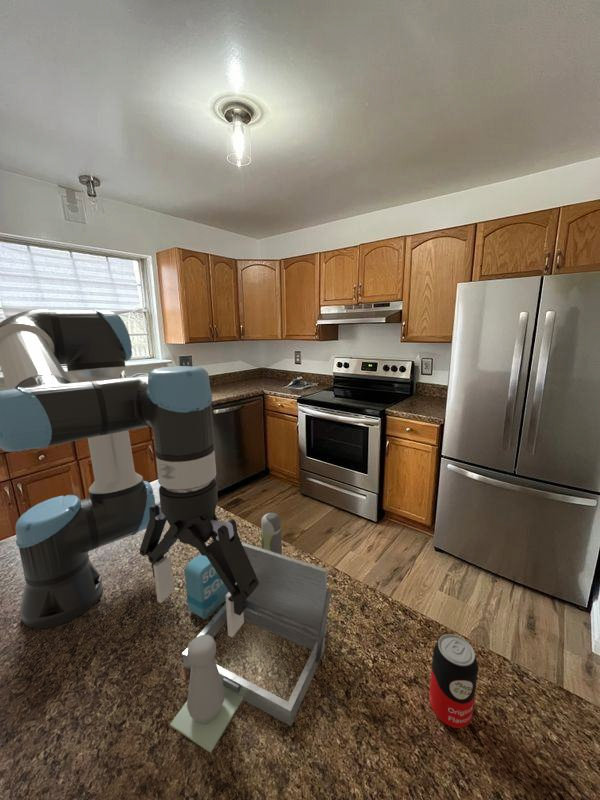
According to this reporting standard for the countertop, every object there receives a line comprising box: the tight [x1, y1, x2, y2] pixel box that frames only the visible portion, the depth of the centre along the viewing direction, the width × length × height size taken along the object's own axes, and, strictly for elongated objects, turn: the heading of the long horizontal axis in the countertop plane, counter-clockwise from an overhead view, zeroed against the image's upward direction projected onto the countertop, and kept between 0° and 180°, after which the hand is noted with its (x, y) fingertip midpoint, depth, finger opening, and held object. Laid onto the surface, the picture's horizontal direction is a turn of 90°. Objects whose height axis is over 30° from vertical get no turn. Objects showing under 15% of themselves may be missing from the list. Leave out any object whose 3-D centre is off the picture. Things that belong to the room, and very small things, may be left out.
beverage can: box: [428, 633, 479, 729], centre depth 53 cm, size 6×6×12 cm
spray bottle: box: [260, 512, 283, 555], centre depth 76 cm, size 5×5×20 cm
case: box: [182, 541, 332, 727], centre depth 61 cm, size 23×16×17 cm
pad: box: [169, 688, 244, 754], centre depth 54 cm, size 8×8×1 cm
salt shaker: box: [186, 635, 225, 725], centre depth 53 cm, size 6×6×13 cm
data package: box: [184, 553, 229, 620], centre depth 76 cm, size 12×4×12 cm, turn 149°
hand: (199, 611), depth 51 cm, fingers open, 13 cm apart
